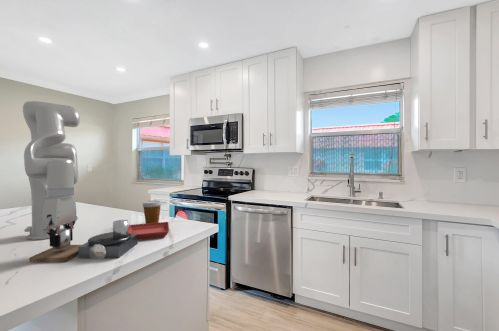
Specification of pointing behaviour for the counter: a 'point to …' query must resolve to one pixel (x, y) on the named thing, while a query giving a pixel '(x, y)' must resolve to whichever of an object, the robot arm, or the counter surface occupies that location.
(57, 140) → the robot arm
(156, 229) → the plant saucer
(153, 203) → the disposable coffee cup
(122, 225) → the cylinder
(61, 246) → the cylinder
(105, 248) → the scale
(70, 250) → the walnut board
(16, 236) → the counter surface
